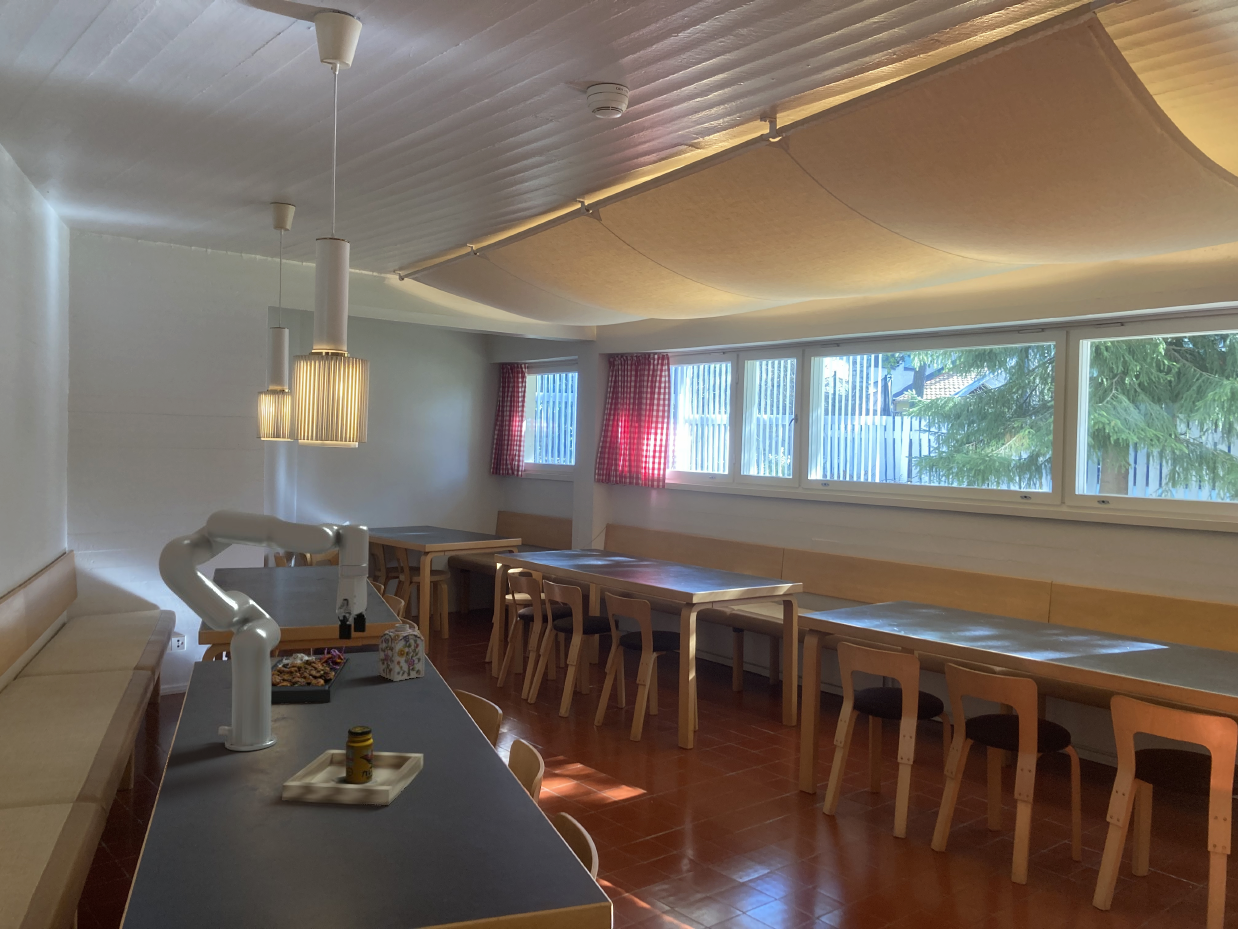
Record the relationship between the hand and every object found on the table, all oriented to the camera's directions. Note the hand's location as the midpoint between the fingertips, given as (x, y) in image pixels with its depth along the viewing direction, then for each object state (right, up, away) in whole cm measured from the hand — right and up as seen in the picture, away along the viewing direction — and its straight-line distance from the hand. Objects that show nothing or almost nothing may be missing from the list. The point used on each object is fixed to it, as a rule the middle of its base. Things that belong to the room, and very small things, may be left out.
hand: (352, 635), depth 235 cm
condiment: (+10, -28, -30) cm, 42 cm away
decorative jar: (-5, -29, +73) cm, 78 cm away
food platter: (-34, -29, +59) cm, 74 cm away
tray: (+10, -28, -30) cm, 43 cm away
